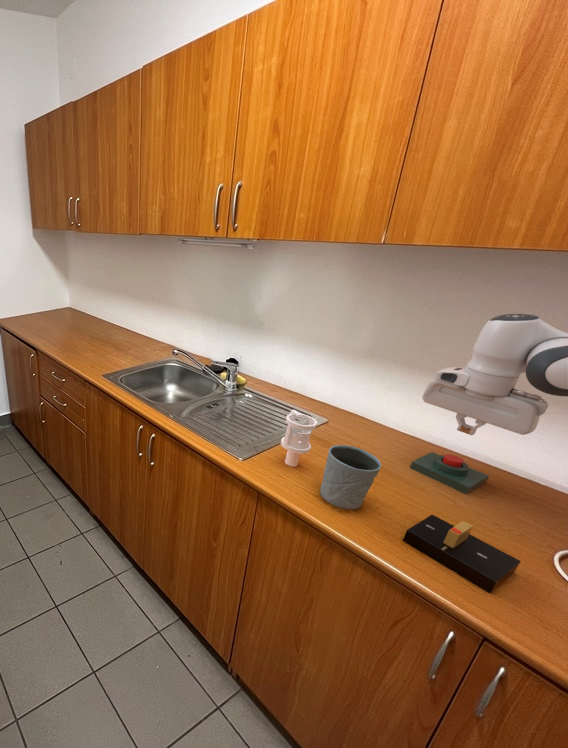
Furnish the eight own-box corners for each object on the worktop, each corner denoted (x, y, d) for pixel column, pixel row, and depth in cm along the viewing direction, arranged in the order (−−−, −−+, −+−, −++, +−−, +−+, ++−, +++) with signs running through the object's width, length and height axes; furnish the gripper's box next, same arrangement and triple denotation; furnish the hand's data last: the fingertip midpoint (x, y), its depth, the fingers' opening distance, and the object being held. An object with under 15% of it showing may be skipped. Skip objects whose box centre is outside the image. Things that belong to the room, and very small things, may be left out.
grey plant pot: (316, 480, 102) (327, 440, 98) (363, 491, 98) (377, 451, 93) (318, 504, 94) (330, 462, 89) (370, 518, 90) (385, 474, 85)
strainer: (292, 454, 113) (303, 408, 107) (311, 468, 107) (324, 420, 101) (271, 457, 112) (281, 411, 106) (289, 472, 105) (301, 423, 100)
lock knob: (457, 533, 81) (463, 519, 80) (466, 539, 80) (474, 524, 78) (442, 543, 79) (449, 528, 78) (452, 548, 78) (459, 534, 76)
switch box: (485, 482, 100) (492, 469, 99) (466, 494, 96) (472, 481, 95) (429, 458, 110) (434, 446, 109) (409, 468, 106) (414, 455, 105)
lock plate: (514, 572, 76) (521, 560, 75) (489, 593, 72) (496, 581, 71) (427, 524, 88) (432, 513, 86) (402, 540, 84) (407, 529, 82)
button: (463, 465, 101) (466, 460, 100) (456, 469, 100) (459, 463, 99) (446, 458, 104) (448, 452, 103) (439, 462, 103) (441, 456, 102)
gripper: (557, 395, 85) (529, 449, 91) (441, 365, 102) (424, 412, 108) (545, 402, 83) (517, 457, 88) (429, 370, 100) (411, 417, 105)
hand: (465, 432), depth 98 cm, fingers closed
